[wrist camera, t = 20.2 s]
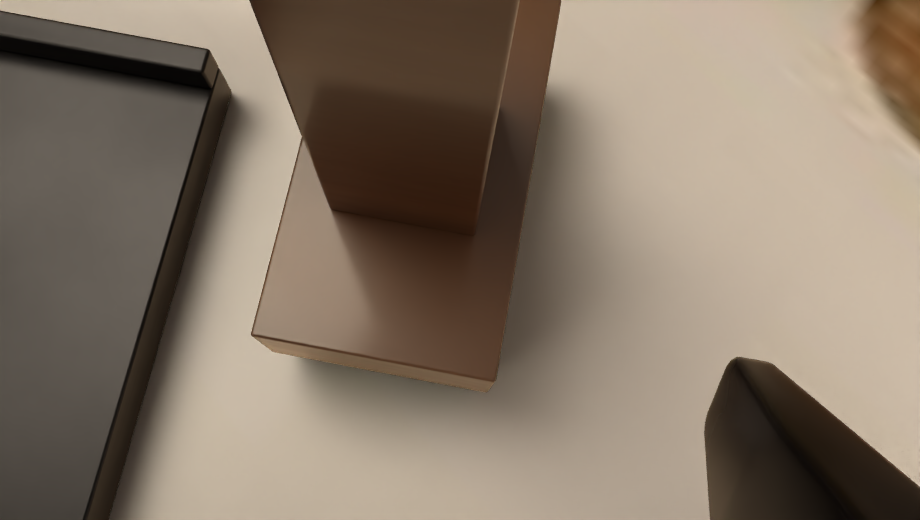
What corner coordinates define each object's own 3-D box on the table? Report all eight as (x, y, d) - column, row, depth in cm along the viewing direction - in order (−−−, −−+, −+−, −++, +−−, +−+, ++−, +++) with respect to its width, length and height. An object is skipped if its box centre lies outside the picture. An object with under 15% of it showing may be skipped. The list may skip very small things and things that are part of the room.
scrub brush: (483, 398, 17) (684, 131, 4) (282, 359, 17) (-265, -46, 4) (540, 74, 19) (803, -866, 6) (361, 40, 19) (196, -969, 6)
